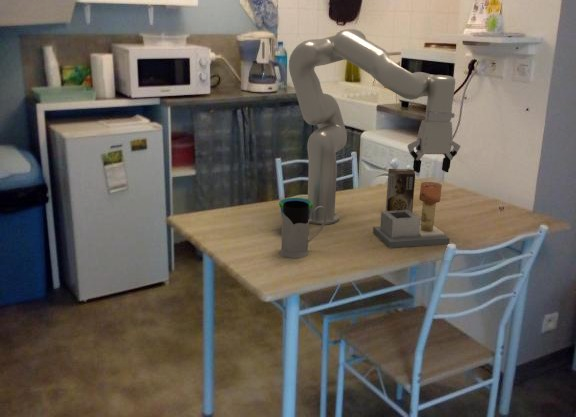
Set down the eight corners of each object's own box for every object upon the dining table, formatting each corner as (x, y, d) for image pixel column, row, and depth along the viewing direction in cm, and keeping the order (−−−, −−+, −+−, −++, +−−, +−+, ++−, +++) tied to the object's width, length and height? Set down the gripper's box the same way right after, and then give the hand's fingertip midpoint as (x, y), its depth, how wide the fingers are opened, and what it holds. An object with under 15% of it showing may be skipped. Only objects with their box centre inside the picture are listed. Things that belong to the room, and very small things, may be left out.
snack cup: (273, 224, 207) (274, 195, 204) (304, 223, 210) (305, 194, 207) (285, 241, 193) (285, 210, 190) (317, 239, 196) (318, 208, 192)
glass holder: (275, 248, 187) (276, 201, 182) (319, 244, 192) (321, 197, 187) (285, 259, 179) (287, 210, 174) (330, 254, 184) (333, 206, 179)
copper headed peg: (431, 225, 203) (435, 181, 198) (440, 232, 197) (445, 186, 192) (413, 226, 201) (417, 182, 197) (421, 233, 196) (426, 187, 191)
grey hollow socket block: (391, 238, 192) (392, 220, 190) (380, 228, 200) (381, 211, 198) (418, 237, 194) (420, 219, 192) (406, 227, 203) (408, 209, 201)
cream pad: (421, 236, 194) (421, 235, 194) (409, 227, 203) (409, 225, 202) (444, 235, 196) (444, 233, 196) (431, 225, 205) (431, 224, 204)
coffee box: (410, 212, 224) (414, 169, 219) (412, 218, 218) (416, 173, 213) (384, 211, 225) (388, 167, 220) (385, 216, 219) (389, 172, 214)
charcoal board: (389, 248, 190) (390, 241, 189) (372, 232, 203) (373, 226, 202) (449, 244, 195) (449, 238, 194) (428, 229, 208) (429, 223, 207)
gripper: (457, 114, 194) (450, 168, 199) (406, 114, 190) (400, 168, 195) (469, 119, 187) (461, 174, 192) (417, 119, 183) (410, 175, 188)
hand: (430, 171), depth 194 cm, fingers open, 9 cm apart
